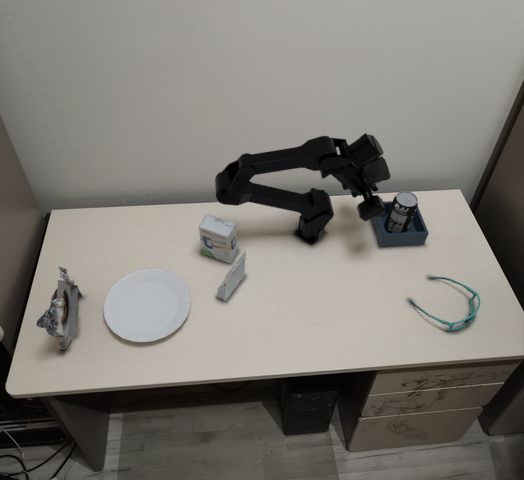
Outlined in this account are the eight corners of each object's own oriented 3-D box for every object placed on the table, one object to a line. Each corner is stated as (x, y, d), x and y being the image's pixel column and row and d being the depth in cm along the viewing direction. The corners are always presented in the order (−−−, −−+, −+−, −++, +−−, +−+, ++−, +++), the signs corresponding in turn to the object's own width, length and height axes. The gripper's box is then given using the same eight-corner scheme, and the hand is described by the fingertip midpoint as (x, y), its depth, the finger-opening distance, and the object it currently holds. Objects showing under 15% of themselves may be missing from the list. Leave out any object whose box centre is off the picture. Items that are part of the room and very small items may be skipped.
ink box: (237, 251, 133) (237, 222, 123) (229, 265, 130) (229, 236, 120) (209, 241, 134) (207, 212, 125) (200, 254, 131) (197, 226, 122)
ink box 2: (216, 298, 123) (215, 271, 114) (236, 272, 128) (236, 245, 119) (226, 303, 122) (225, 276, 113) (245, 277, 127) (246, 250, 118)
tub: (379, 247, 135) (383, 235, 131) (369, 213, 143) (372, 201, 139) (423, 245, 136) (428, 233, 132) (410, 211, 144) (415, 199, 140)
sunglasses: (458, 342, 117) (463, 331, 114) (404, 308, 125) (407, 297, 121) (484, 306, 124) (490, 294, 121) (431, 276, 131) (436, 264, 128)
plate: (97, 288, 123) (95, 283, 122) (177, 263, 129) (176, 258, 127) (115, 359, 111) (113, 354, 110) (203, 328, 117) (202, 323, 116)
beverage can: (402, 217, 142) (413, 188, 133) (410, 234, 138) (423, 205, 129) (380, 220, 141) (391, 191, 132) (389, 237, 137) (400, 208, 128)
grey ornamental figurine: (65, 297, 121) (50, 266, 111) (83, 297, 122) (69, 266, 111) (53, 353, 112) (35, 325, 102) (73, 352, 112) (56, 324, 102)
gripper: (385, 182, 111) (418, 213, 121) (366, 130, 123) (397, 162, 132) (345, 207, 116) (379, 235, 126) (331, 155, 128) (363, 184, 138)
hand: (381, 202), depth 130 cm, fingers open, 9 cm apart
